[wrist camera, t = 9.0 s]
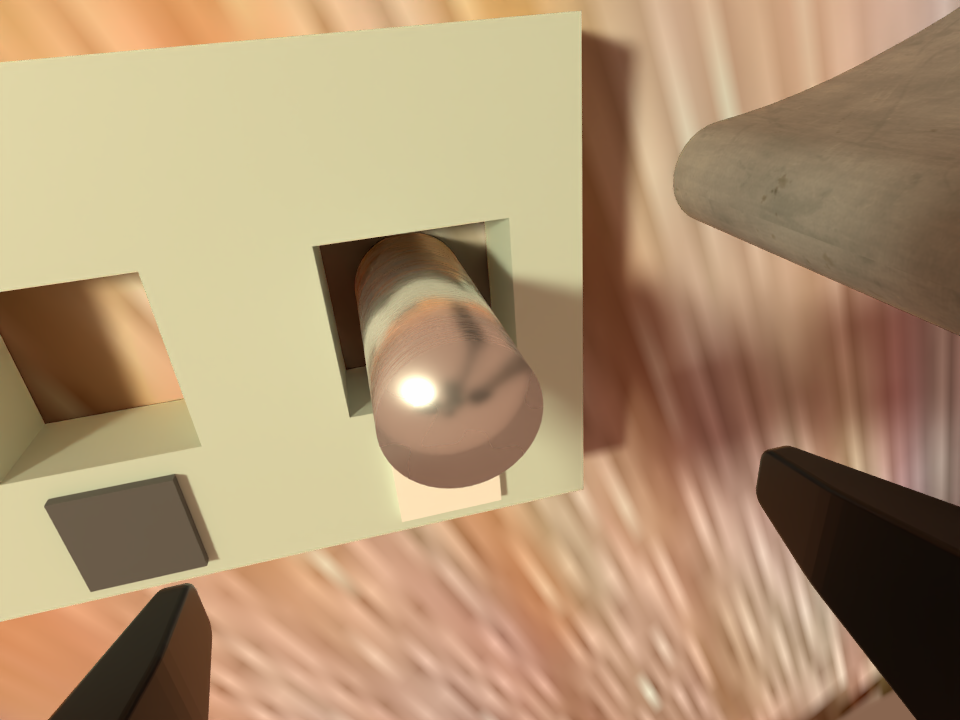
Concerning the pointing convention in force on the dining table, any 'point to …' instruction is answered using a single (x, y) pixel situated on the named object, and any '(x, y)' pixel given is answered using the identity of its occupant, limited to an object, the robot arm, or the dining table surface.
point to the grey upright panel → (849, 176)
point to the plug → (441, 367)
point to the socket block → (274, 283)
